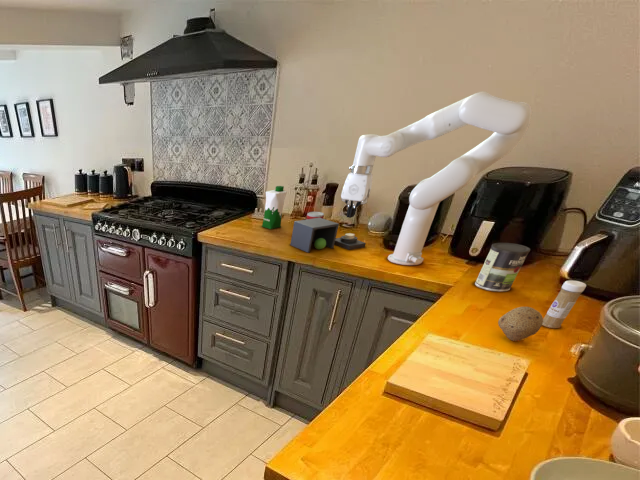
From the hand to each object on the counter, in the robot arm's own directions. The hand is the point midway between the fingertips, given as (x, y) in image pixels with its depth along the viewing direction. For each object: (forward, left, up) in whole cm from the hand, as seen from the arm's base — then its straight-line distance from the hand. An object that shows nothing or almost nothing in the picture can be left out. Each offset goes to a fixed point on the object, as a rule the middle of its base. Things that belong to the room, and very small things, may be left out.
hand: (350, 216), depth 177 cm
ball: (+6, +8, -13) cm, 16 cm away
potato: (-83, -9, -15) cm, 85 cm away
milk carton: (+48, +16, -15) cm, 53 cm away
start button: (+9, -7, -12) cm, 16 cm away
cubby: (+10, +9, -15) cm, 20 cm away
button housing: (+9, -7, -15) cm, 19 cm away
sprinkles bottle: (-77, -26, -15) cm, 83 cm away
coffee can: (-47, -32, -15) cm, 59 cm away
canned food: (+26, +3, -15) cm, 30 cm away
